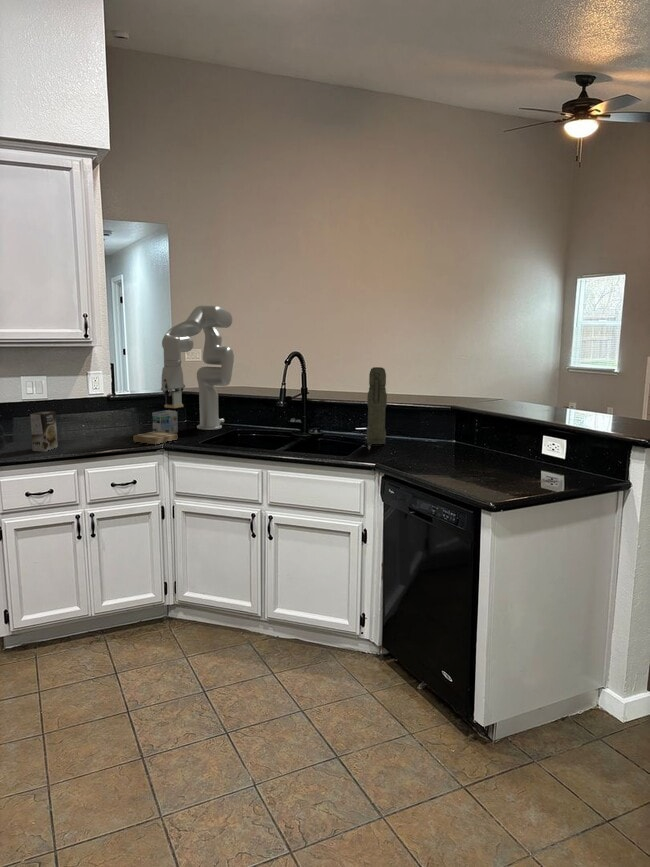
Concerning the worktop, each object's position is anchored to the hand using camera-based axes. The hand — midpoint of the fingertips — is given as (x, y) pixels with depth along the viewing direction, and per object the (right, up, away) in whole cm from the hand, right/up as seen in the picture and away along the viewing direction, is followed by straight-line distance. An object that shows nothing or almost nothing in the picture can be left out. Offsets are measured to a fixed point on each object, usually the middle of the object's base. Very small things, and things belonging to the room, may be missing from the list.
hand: (173, 403), depth 295 cm
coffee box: (-51, -21, -17) cm, 58 cm away
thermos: (+93, -19, +2) cm, 95 cm away
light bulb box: (-9, -14, +22) cm, 28 cm away
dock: (-9, -17, +2) cm, 20 cm away
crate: (0, -2, 0) cm, 2 cm away
